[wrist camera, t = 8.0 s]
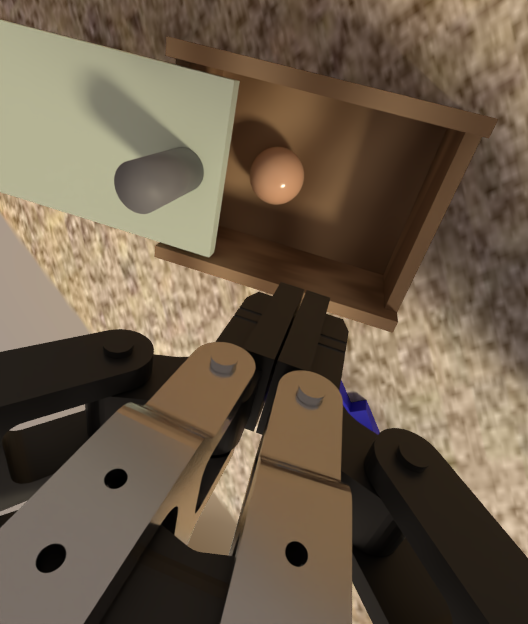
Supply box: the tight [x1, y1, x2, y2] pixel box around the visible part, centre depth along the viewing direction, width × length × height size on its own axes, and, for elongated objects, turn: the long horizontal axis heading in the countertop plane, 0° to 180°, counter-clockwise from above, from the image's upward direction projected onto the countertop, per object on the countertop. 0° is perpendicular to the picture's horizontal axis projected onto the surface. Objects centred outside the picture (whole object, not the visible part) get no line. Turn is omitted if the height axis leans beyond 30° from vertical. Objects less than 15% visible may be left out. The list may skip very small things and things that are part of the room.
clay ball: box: [250, 147, 304, 205], centre depth 25 cm, size 4×4×4 cm
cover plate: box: [0, 19, 240, 257], centre depth 20 cm, size 15×10×6 cm, turn 78°
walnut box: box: [155, 36, 498, 333], centre depth 24 cm, size 16×12×7 cm
